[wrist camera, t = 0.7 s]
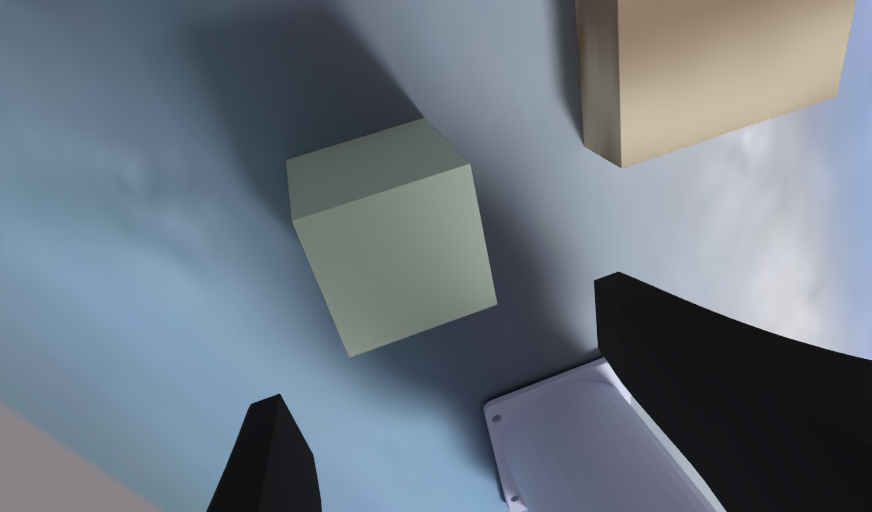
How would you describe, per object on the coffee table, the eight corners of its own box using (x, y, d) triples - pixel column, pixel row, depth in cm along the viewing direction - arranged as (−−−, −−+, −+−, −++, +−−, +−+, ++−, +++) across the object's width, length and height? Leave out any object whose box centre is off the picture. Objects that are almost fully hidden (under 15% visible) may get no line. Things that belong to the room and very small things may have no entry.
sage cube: (451, 235, 21) (497, 304, 17) (332, 276, 20) (349, 357, 16) (423, 116, 18) (470, 163, 14) (285, 159, 18) (291, 221, 14)
